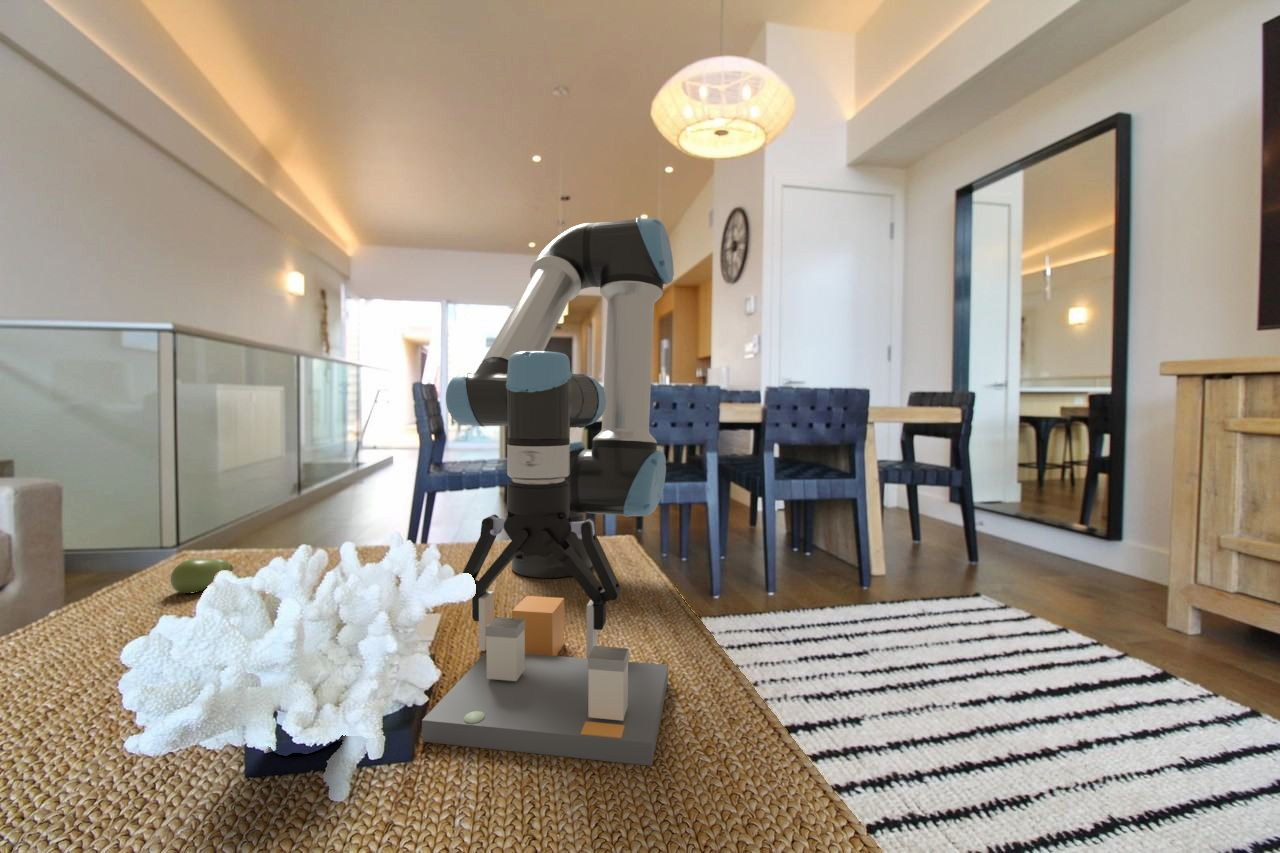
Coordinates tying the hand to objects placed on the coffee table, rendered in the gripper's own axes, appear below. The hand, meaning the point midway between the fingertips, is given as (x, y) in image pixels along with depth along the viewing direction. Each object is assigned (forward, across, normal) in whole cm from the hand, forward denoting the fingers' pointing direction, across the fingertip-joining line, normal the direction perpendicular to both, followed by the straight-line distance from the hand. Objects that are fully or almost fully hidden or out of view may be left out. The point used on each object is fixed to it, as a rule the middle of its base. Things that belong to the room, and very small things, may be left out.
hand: (538, 650), depth 67 cm
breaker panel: (0, +6, -12) cm, 13 cm away
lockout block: (0, 0, 0) cm, 0 cm away
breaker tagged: (-2, +12, -15) cm, 20 cm away
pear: (0, -62, +14) cm, 63 cm away
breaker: (-2, 0, -10) cm, 11 cm away
